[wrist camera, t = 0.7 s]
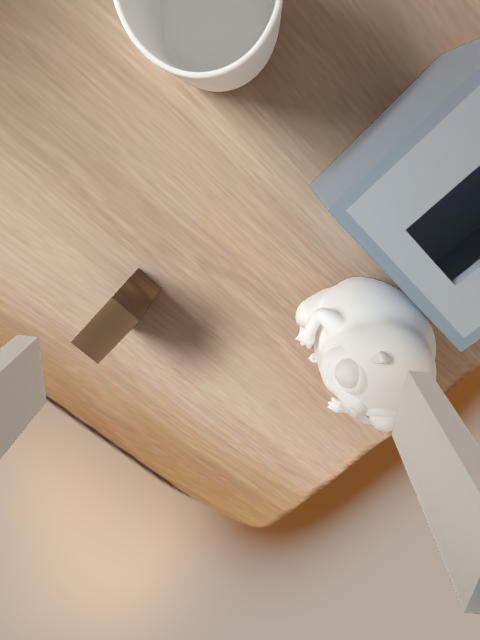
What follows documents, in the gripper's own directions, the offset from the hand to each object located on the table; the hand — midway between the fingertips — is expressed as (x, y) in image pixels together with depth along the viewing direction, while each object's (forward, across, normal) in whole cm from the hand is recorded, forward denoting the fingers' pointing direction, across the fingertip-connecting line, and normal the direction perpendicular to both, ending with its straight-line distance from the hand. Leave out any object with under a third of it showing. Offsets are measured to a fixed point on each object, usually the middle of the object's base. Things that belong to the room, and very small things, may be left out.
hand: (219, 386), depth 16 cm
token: (+22, -10, -6) cm, 24 cm away
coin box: (+22, +13, +6) cm, 26 cm away
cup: (+22, -4, +16) cm, 27 cm away
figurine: (+22, +10, -6) cm, 25 cm away
